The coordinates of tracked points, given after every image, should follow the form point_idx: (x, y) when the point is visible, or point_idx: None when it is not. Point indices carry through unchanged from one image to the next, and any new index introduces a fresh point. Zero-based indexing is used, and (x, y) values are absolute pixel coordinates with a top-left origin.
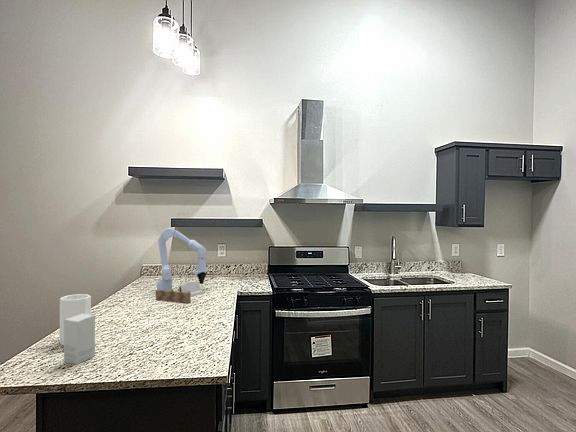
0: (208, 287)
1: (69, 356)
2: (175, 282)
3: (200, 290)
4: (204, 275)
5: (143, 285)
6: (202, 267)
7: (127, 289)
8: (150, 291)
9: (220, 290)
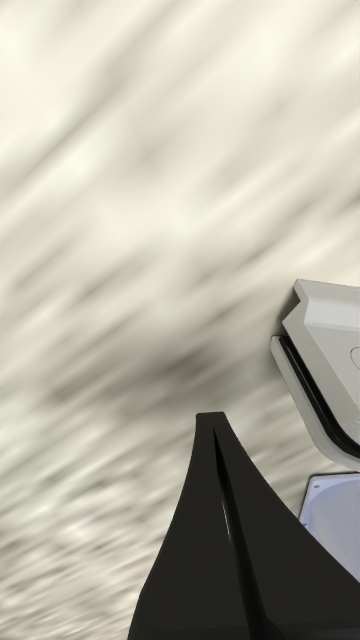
0: (25, 406)
1: None
2: (62, 589)
3: (319, 324)
4: (234, 565)
5: None
6: None
7: None
8: None
9: (44, 207)
